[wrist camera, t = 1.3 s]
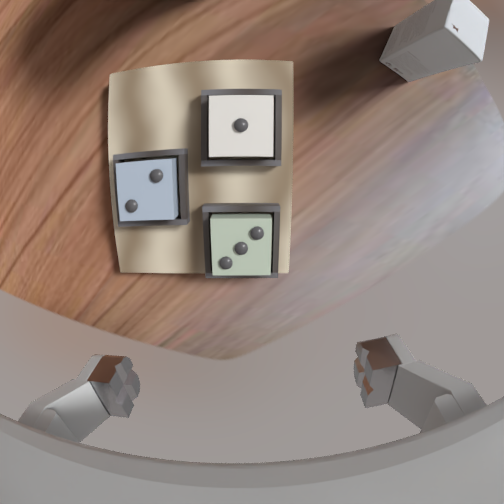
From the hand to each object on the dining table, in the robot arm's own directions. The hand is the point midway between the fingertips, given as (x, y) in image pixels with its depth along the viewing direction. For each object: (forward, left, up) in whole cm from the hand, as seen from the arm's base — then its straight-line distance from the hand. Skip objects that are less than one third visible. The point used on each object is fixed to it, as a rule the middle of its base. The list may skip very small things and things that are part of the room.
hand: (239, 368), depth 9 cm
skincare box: (+17, +20, -21) cm, 33 cm away
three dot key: (0, -1, -17) cm, 17 cm away
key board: (-4, +6, -20) cm, 21 cm away
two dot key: (-8, +4, -17) cm, 20 cm away
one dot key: (0, +9, -17) cm, 20 cm away
